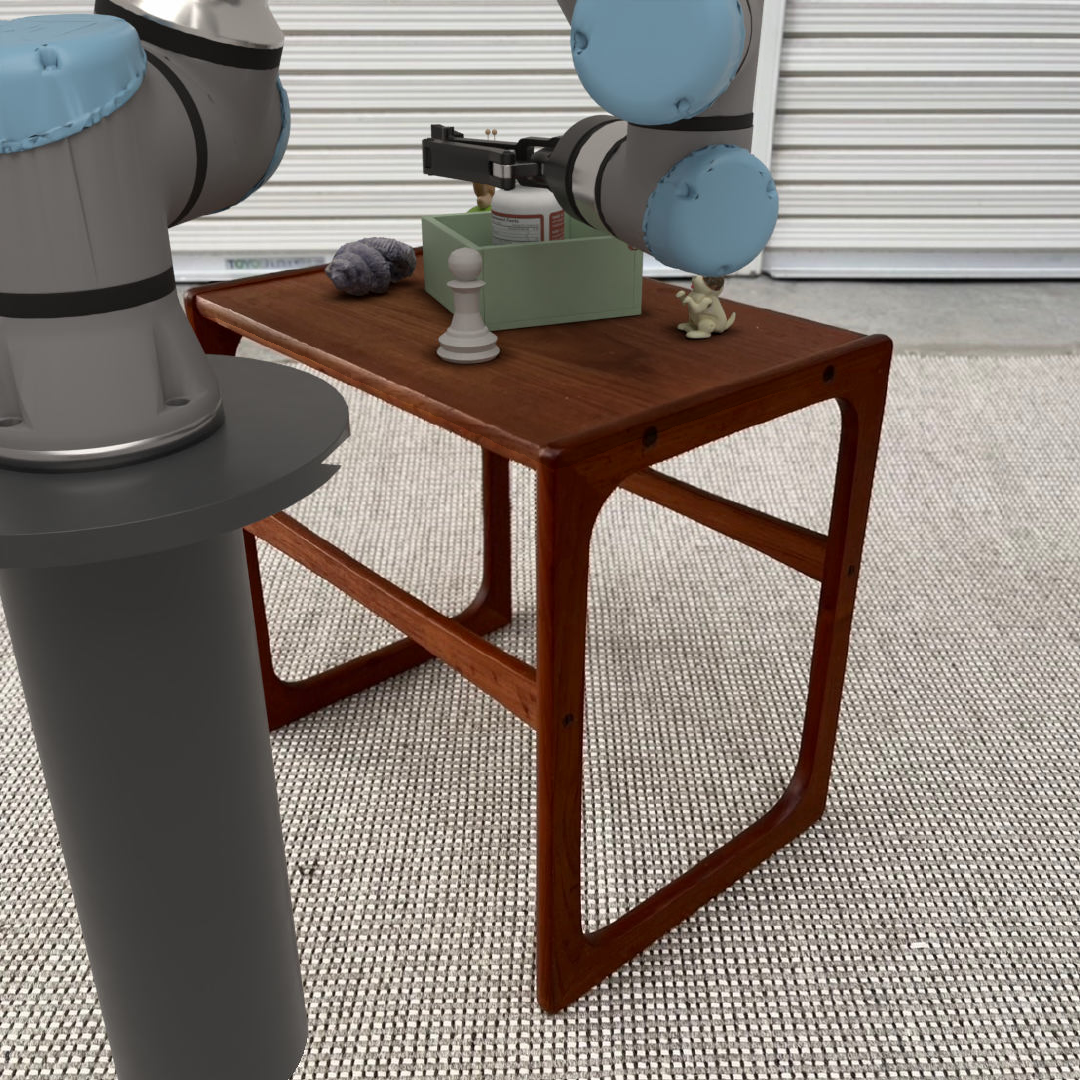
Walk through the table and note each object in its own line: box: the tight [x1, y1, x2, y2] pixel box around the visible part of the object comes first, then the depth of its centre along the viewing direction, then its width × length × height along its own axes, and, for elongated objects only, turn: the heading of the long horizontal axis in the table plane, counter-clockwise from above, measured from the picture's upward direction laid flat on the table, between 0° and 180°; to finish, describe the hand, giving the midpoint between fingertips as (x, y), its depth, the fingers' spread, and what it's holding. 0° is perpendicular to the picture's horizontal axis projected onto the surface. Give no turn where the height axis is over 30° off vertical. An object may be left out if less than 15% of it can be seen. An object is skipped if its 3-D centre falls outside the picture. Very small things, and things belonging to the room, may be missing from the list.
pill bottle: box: [491, 180, 565, 246], centre depth 97 cm, size 6×6×11 cm
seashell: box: [324, 236, 418, 297], centre depth 102 cm, size 5×5×10 cm
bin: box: [420, 211, 644, 332], centre depth 98 cm, size 15×15×7 cm
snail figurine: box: [465, 128, 498, 213], centre depth 112 cm, size 5×6×12 cm
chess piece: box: [436, 247, 501, 365], centre depth 84 cm, size 5×5×8 cm
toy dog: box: [675, 274, 736, 339], centre depth 90 cm, size 4×5×5 cm
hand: (513, 138), depth 96 cm, fingers open, 13 cm apart
